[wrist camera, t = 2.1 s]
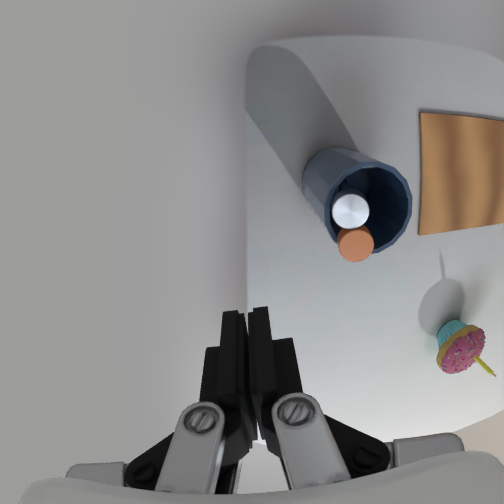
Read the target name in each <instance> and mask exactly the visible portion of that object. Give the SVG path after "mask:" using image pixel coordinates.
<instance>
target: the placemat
mask: <svg viewBox="0 0 504 504" xmlns="http://www.w3.org/2000/svg"><path fill="white" fill-rule="evenodd" d="M419 118H420V138H421V194H420V215H419V229H418V235H419V236H420V235H427V234H434V233H441V232H447V231H454V230H461V229H468V228H474V227H481V226H488V225H494V224H501V223H504V121H498V120H491V119H484V118H477V117H468V116H459V115H448V114H435V113H419Z"/></svg>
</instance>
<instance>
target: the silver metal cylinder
mask: <svg viewBox="0 0 504 504" xmlns="http://www.w3.org/2000/svg"><path fill="white" fill-rule="evenodd" d="M338 189H339V192H337V193H336V194H335V195H334V197H333V199H332V201H331V211H332V216H333V219H334V221H335V222H336V223H337V224H338V225H339V226H341V227H343V228H346V229H354V228H358V227H360V226H361V225H363V224H364V223H365V222H366V220H367V218H368V216H369V206H368V203H367V201H366V199H365V197H364V195H363V194H362V193H361V192H360V191H358V190H356V189H352V188H349V185H348V182H347V180H346V177H345V179H344V180H343V181H342V182H341V183H340V185H339V186H338Z"/></svg>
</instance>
